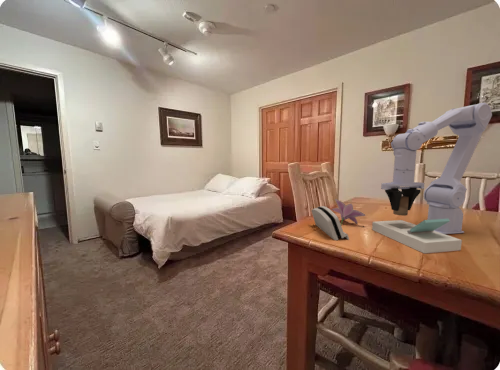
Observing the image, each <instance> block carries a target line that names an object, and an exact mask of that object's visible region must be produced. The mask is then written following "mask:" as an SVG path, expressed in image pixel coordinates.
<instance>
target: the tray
mask: <svg viewBox="0 0 500 370" xmlns="http://www.w3.org/2000/svg"><path fill="white" fill-rule="evenodd" d="M371 225H372V226H371V230H372V231H374V232H376V233H378V234H381V235H383V236H385V237H387V238H389V239H392V240H394V241H396V242H398V243H401V244H402V245H405V246H406V247H409V248H411V249H413V250H416V251H418V252H420V253H422V254H432V253H434V254H435V253H444V252H453V251H454V252H455V251H456V252H457V251H461V249H462V242H463V240H462V239H460V238H458V237H454V236H451V235H449V234H442V233H439V232H436V231H433V232H421V233H408V232H407V231H408V230H410V229H412V228H413V227H415V226H416V225H417V224H415V223H412V222H409V221H406V220H402V219H397V220H395V219H393V220H382V221H381V220H378V221H372V224H371Z"/></svg>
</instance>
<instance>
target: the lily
mask: <svg viewBox="0 0 500 370" xmlns="http://www.w3.org/2000/svg"><path fill="white" fill-rule="evenodd" d="M334 200H335V203H336V205H337V207H334V208H331V211H332V212H336V213H338V214H340V219H341V222H340V224H341V226H342V225H343V221H345V220H348V219H349V220H350V221H352V222H353V223H355V224H357V225H358V220H357V217H366V214H365V213H364V212H362V211H361V210H360V211H359V210H357V209H354V205H353V204H352V203H348V204H345V203H344V202H342V201H341V200H339V199H338V198H335V199H334Z"/></svg>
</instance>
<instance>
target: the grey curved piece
mask: <svg viewBox="0 0 500 370" xmlns="http://www.w3.org/2000/svg"><path fill="white" fill-rule="evenodd" d="M334 212H335V211H333V210H332V209H330V208H328V207H327V206H325V205H321V206H317V207H315V208H313V209H311V215H312V218H313V220H314V224H315V225H316V227H318V228H319V229H320V230H321V231H322V232H324V233H325V234H326V235H327V236H329V237H330V238H331V239H332V240H334V241H339V238H341V239H344V238H345V239H347V241H349V240H350V237H349V235H348V233H346V232H344V230H343V226H342V225H341V222H340V219H339V217H338V216H337V214H336V213H334Z"/></svg>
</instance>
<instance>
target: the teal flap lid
mask: <svg viewBox="0 0 500 370" xmlns="http://www.w3.org/2000/svg"><path fill="white" fill-rule="evenodd" d="M449 221H450V220H449V219H434V220H427V219H424V220H422V221H420V222H419V223H418V224H415V225H416V226H415V227H413V228H412V229H410V230H408V231H407V232H408V233H421V232H433V231H434V230H436V229H437V228H439V227H441V226H442V225H444V224H446V223H448V222H449Z"/></svg>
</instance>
